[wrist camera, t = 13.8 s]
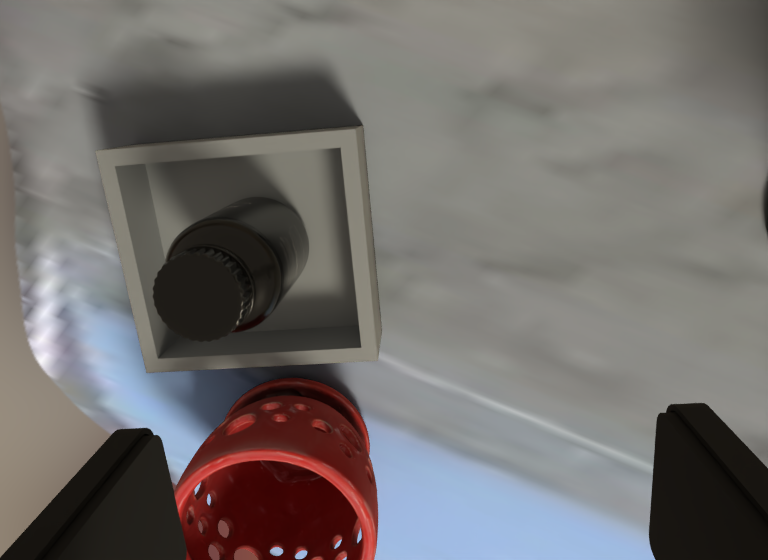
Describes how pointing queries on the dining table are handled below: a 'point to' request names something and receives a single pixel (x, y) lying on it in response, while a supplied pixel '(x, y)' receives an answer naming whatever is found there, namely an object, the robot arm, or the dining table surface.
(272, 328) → the tray
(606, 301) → the dining table surface
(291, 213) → the supplement bottle
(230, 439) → the plant pot
